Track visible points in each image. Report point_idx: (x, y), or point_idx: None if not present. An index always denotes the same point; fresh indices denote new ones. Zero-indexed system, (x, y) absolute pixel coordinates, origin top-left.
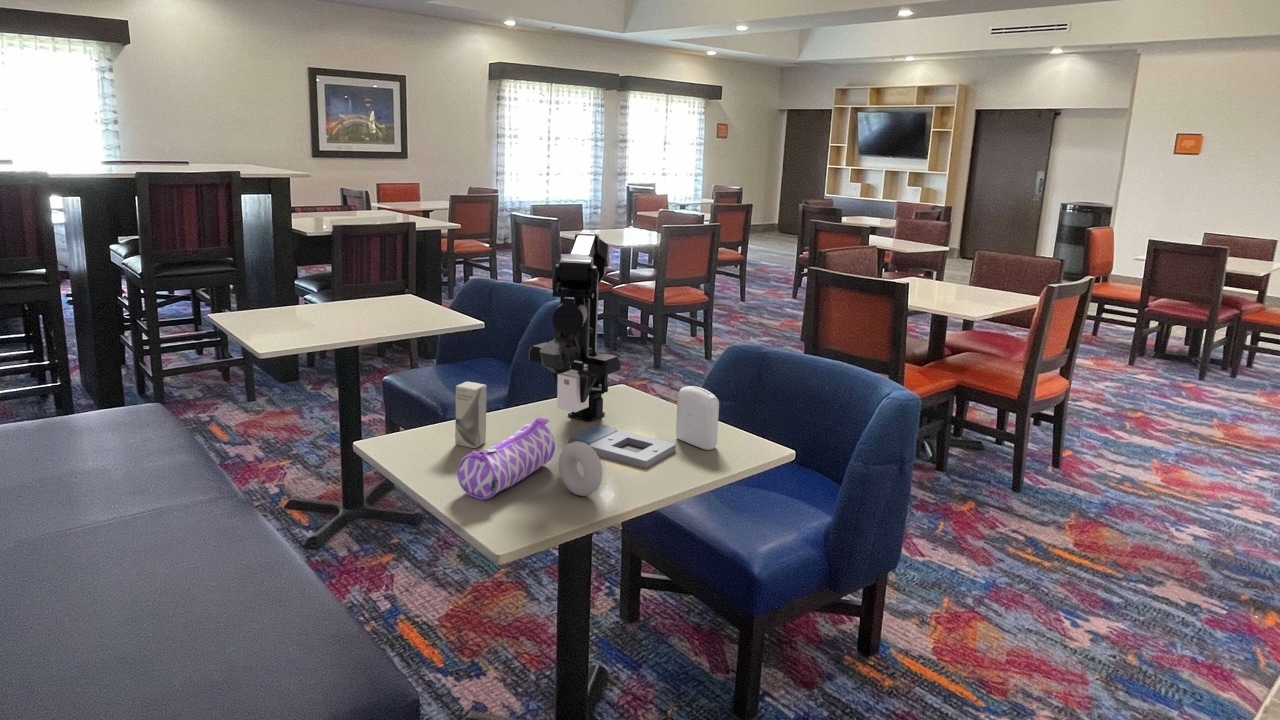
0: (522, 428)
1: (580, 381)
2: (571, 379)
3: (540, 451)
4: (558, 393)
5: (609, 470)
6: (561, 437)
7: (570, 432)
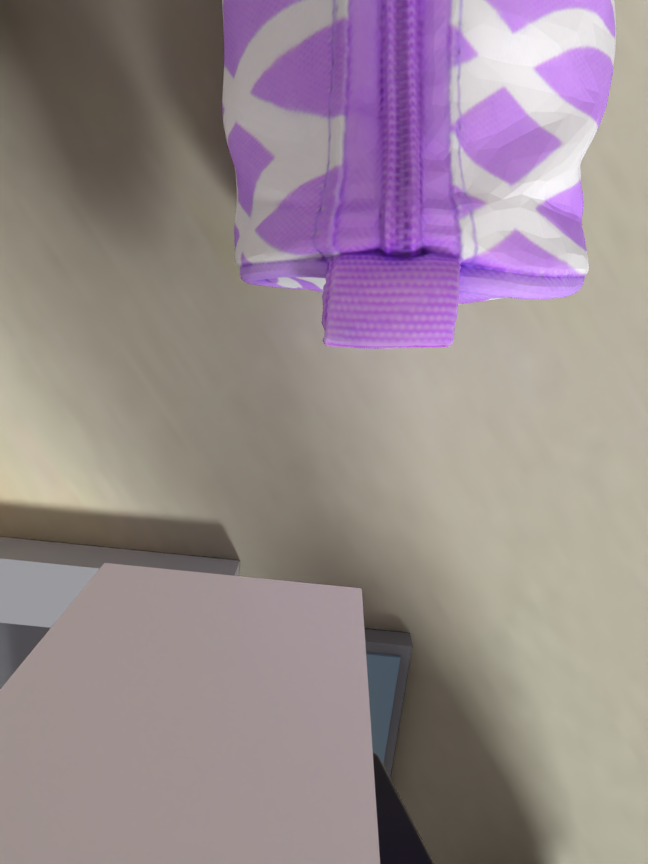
0: (538, 149)
1: None
2: None
3: (223, 22)
4: (347, 730)
5: (3, 407)
6: (471, 666)
7: (465, 740)
